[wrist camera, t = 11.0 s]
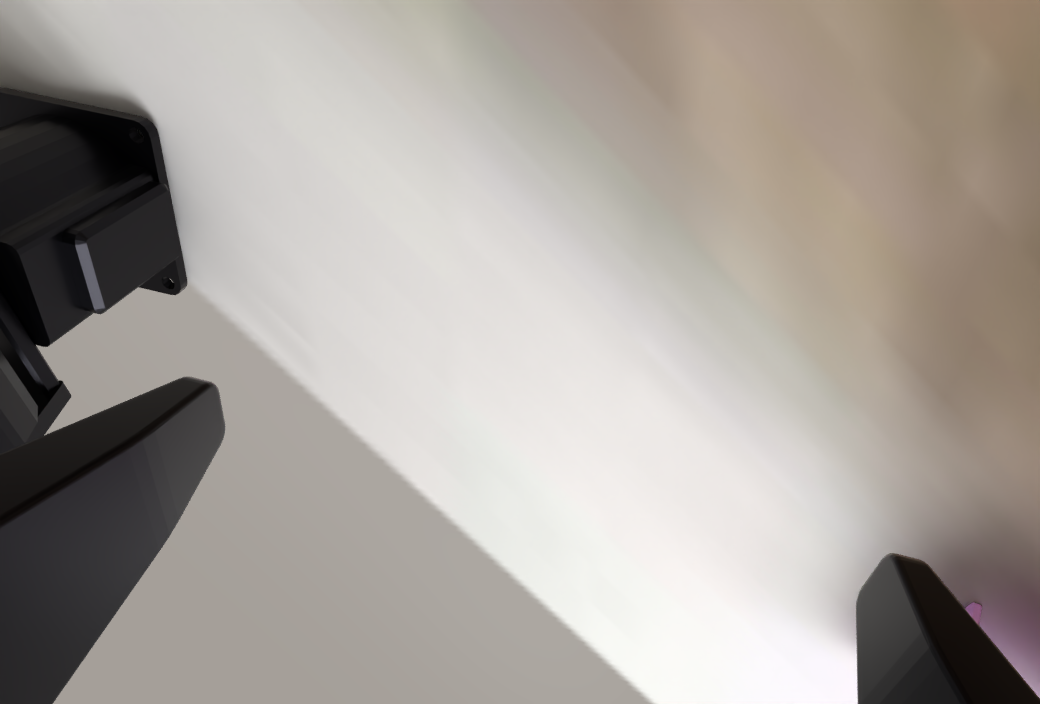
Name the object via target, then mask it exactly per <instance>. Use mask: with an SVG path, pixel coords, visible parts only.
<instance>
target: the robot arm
mask: <svg viewBox="0 0 1040 704" xmlns="http://www.w3.org/2000/svg"><path fill="white" fill-rule="evenodd" d="M137 129H138V130H139V131H140V132H141V133H142V134H143V137H144V138H142V137H141V136H140V135H139V133H138V131H137ZM169 278H170V279H171V280H172V281H173V282H174V283H173V282H172V281H171V280H170V279H169ZM186 286H187V277H186V272H185V267H184V262H183V256H182V251H181V246H180V241H179V236H178V231H177V226H176V221H175V216H174V211H173V205H172V200H171V195H170V190H169V185H168V180H167V175H166V170H165V165H164V160H163V154H162V149H161V144H160V139H159V134H158V132H157V129H156V127H155V126H154V125H153V123H152V122H150V121H149V120H148V119H147V118H144V117H142V116H137V115H132V114H127V113H123V112H118V111H113V110H108V109H103V108H99V107H94V106H89V105H84V104H79V103H75V102H70V101H65V100H60V99H55V98H50V97H46V96H41V95H36V94H31V93H26V92H22V91H17V90H12V89H7V88H2V87H0V704H53V702H54V701H55V700H56V698H57V697H58V695H59V694H60V692H61V691H62V689H63V688H64V687H65V685H66V684H67V682H68V681H69V680H70V678H71V677H72V675H73V674H74V672H75V671H76V670H77V668H78V667H79V665H80V664H81V662H82V661H83V660H84V658H85V657H86V655H87V654H88V652H89V651H90V649H91V648H92V647H93V645H94V643H95V642H96V641H97V640H98V638H99V637H100V635H101V634H102V632H103V631H104V630H105V628H106V627H107V625H108V624H109V622H110V621H111V620H112V618H113V617H114V615H115V614H116V612H117V611H118V609H119V608H120V607H121V605H122V604H123V602H124V601H125V599H126V598H127V597H128V595H129V594H130V592H131V591H132V589H133V588H134V586H135V585H136V584H137V582H138V581H139V580H140V578H141V577H142V575H143V574H144V572H145V571H146V570H147V568H148V566H149V565H150V564H151V562H152V561H153V560H154V558H155V557H156V555H157V554H158V552H159V551H160V550H161V548H162V547H163V545H164V543H165V542H166V541H167V539H168V538H169V536H170V534H171V533H172V531H173V529H174V528H175V526H176V524H177V523H178V521H179V519H180V517H181V516H182V514H183V512H184V510H185V508H186V507H187V505H188V503H189V501H190V499H191V497H192V495H193V494H194V492H195V490H196V488H197V486H198V485H199V483H200V481H201V479H202V477H203V476H204V474H205V472H206V470H207V468H208V466H209V465H210V463H211V461H212V459H213V458H214V456H215V454H216V452H217V450H218V448H219V447H220V445H221V443H222V440H223V438H224V433H225V421H224V416H223V411H222V405H221V400H220V395H219V390H218V388H217V386H216V385H215V384H214V383H212V382H209V381H205V380H201V379H197V378H193V377H183V378H181V379H178V380H175V381H173V382H170V383H168V384H166V385H163V386H161V387H159V388H156V389H154V390H151V391H149V392H147V393H144V394H142V395H139V396H137V397H135V398H132V399H130V400H128V401H125V402H123V403H120V404H118V405H116V406H113V407H111V408H109V409H106V410H104V411H101V412H99V413H97V414H94V415H92V416H90V417H88V418H85V419H83V420H80V421H78V422H75V423H73V424H71V425H68V426H66V427H63V428H61V429H59V430H56V431H54V432H52V433H50V434H47V435H45V436H44V434H45V433H46V432H47V430H48V429H49V427H50V426H51V425H52V423H53V422H54V420H55V419H56V417H57V416H58V415H59V413H60V412H61V410H62V409H63V408H64V406H65V405H66V403H67V402H68V401H69V399H70V398H71V394H70V393H69V391H68V389H67V388H66V386H65V385H64V383H63V381H58V379H57V378H56V376H55V375H54V373H53V372H52V370H51V369H50V367H49V365H48V364H47V362H46V361H45V359H44V357H43V356H42V354H41V353H40V351H39V350H38V348H37V346H36V345H39V346H43V347H48V346H49V345H50V344H52V343H53V342H55V341H56V340H57V339H59V338H60V337H62V336H63V335H64V334H66V333H67V332H68V331H69V330H71V329H73V328H74V327H75V326H77V325H78V324H79V323H81V322H82V321H83V320H85V319H86V318H88V317H89V316H90V315H92V314H93V313H97V314H102V313H104V312H106V311H107V310H108V309H110V308H111V307H112V306H113V305H115V304H116V303H118V302H119V301H120V300H122V299H123V298H124V297H126V296H127V295H128V294H130V293H131V292H132V291H133V290H135V289H136V288H138V287H141V288H144V289H149V290H153V291H158V292H162V293H166V294H170V295H176V294H178V293H180V292H181V291H182V290H184V289H185V287H186ZM856 635H857V690H858V704H1040V698H1039V697H1038V696H1037V695H1036V694H1035V692H1034V691H1033V690H1032V689H1031V688H1030V686H1029V685H1028V684H1027V683H1026V682H1025V680H1024V679H1023V678H1022V677H1021V676H1020V674H1019V673H1018V672H1017V671H1016V669H1015V668H1014V667H1013V666H1012V665H1011V663H1010V662H1009V661H1008V660H1007V659H1006V657H1005V656H1004V655H1003V654H1002V653H1001V651H1000V650H999V649H998V648H997V647H996V645H995V644H994V643H993V642H992V641H991V639H990V638H989V637H988V636H987V635H986V633H985V632H984V631H983V630H982V629H981V627H980V626H979V625H978V624H977V623H976V621H975V620H974V619H973V618H972V617H971V615H970V614H969V613H968V612H967V611H966V609H965V608H964V607H963V606H962V605H961V603H960V602H959V601H958V600H957V599H956V597H955V596H954V595H953V594H952V593H951V591H950V590H949V589H948V588H947V587H946V585H945V584H944V583H943V582H942V581H941V579H940V578H939V577H938V576H937V575H936V573H935V572H934V571H933V570H932V569H931V567H930V566H929V565H928V564H926V563H925V562H923V561H921V560H919V559H915V558H911V557H907V556H903V555H899V554H895V553H890V554H888V555H886V556H885V557H884V558H883V559H882V560H881V561H880V563H879V564H878V566H877V567H876V568H875V570H874V571H873V573H872V574H871V576H870V577H869V578H868V580H867V581H866V583H865V584H864V585H863V587H862V588H861V590H860V592H859V595H858V598H857V603H856Z"/></svg>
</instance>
